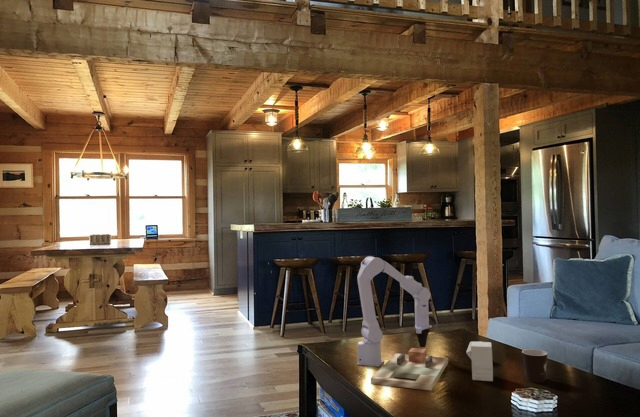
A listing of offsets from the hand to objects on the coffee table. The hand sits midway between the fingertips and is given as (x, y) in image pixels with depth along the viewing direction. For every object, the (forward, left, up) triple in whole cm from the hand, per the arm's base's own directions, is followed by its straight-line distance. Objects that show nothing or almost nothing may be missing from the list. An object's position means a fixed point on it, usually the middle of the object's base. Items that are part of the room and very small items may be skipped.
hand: (422, 346), depth 213 cm
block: (0, -10, -3) cm, 11 cm away
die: (+22, +4, -5) cm, 23 cm away
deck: (0, -21, -5) cm, 21 cm away
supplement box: (+26, -18, -5) cm, 32 cm away
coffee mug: (+45, -13, -5) cm, 47 cm away
